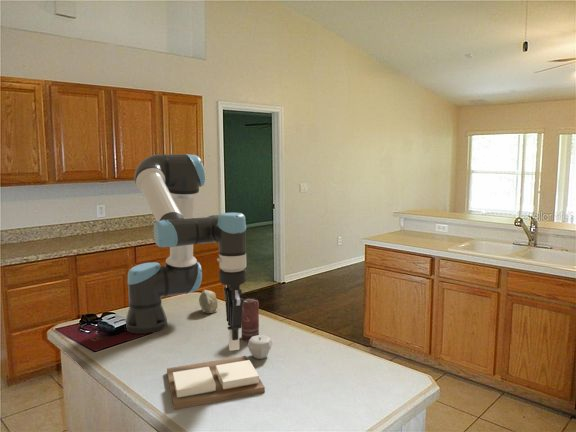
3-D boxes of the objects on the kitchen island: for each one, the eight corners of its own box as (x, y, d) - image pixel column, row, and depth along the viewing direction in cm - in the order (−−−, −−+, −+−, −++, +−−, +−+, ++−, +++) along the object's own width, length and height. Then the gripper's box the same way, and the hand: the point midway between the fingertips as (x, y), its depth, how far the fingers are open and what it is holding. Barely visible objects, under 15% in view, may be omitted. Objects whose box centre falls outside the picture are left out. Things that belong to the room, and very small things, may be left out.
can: (257, 342, 152) (256, 303, 150) (239, 340, 153) (238, 301, 151) (261, 335, 158) (261, 297, 156) (244, 333, 159) (244, 296, 157)
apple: (274, 361, 138) (273, 341, 137) (248, 363, 137) (248, 343, 136) (270, 350, 146) (270, 331, 145) (246, 352, 144) (246, 332, 143)
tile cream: (215, 365, 127) (222, 382, 117) (249, 359, 130) (258, 375, 121) (215, 373, 127) (223, 390, 118) (249, 367, 130) (259, 384, 121)
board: (167, 373, 130) (166, 368, 130) (245, 360, 138) (245, 355, 138) (174, 409, 112) (173, 404, 111) (264, 392, 120) (264, 387, 120)
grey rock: (209, 320, 178) (206, 301, 173) (194, 313, 182) (190, 294, 177) (224, 307, 185) (222, 288, 180) (209, 300, 189) (207, 282, 184)
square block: (172, 372, 123) (176, 390, 113) (208, 366, 126) (215, 383, 117) (173, 380, 123) (177, 399, 114) (208, 374, 126) (215, 392, 117)
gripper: (214, 264, 127) (216, 341, 131) (224, 275, 115) (226, 361, 118) (240, 262, 130) (241, 338, 133) (252, 273, 118) (253, 356, 121)
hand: (234, 348), depth 126 cm, fingers closed
